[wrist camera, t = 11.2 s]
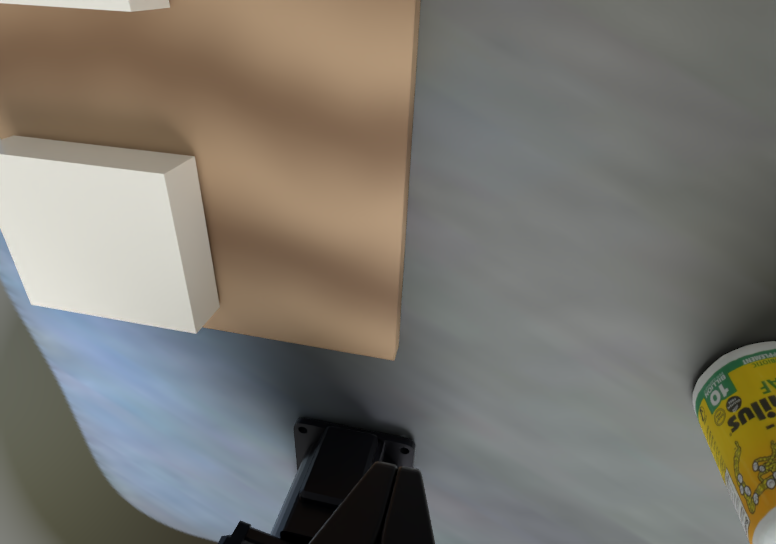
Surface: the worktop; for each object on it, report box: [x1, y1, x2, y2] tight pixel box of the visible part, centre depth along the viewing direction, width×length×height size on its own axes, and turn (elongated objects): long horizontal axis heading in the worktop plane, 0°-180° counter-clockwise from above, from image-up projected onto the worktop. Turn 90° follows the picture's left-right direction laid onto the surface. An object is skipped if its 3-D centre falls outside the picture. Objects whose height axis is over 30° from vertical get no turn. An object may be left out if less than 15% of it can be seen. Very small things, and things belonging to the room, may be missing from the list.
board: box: [0, 0, 421, 361], centre depth 18 cm, size 22×17×1 cm
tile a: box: [0, 136, 220, 334], centre depth 21 cm, size 7×2×8 cm
